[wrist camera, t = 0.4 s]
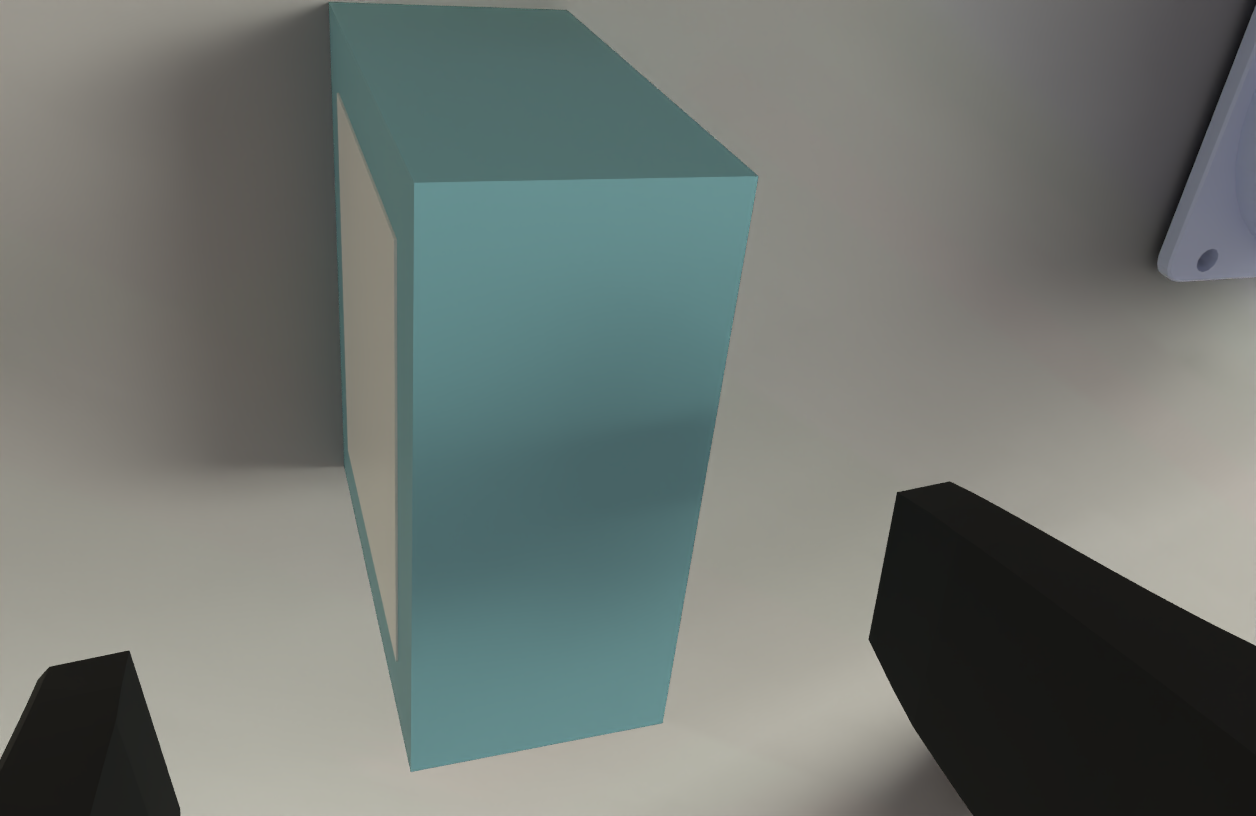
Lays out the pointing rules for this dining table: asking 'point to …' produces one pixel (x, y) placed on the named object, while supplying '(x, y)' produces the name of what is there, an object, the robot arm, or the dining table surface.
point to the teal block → (524, 365)
